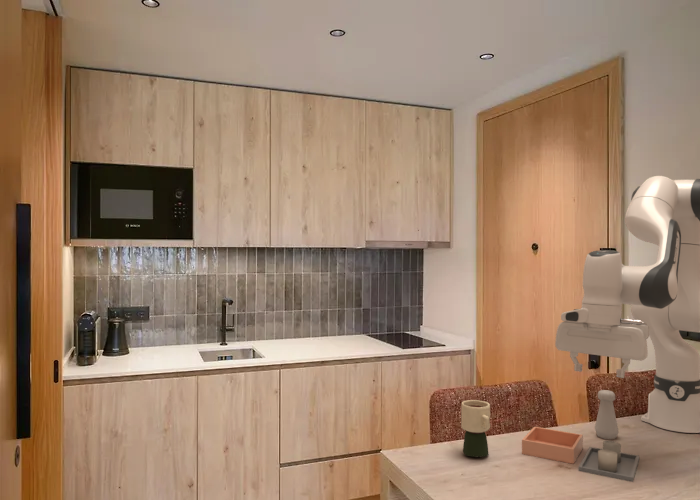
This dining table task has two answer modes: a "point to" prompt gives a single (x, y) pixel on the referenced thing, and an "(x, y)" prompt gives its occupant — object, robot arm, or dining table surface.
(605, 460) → the pebble
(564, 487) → the dining table surface
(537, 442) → the open box
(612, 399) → the salt shaker
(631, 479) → the tray
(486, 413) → the character mug
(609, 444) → the pebble
